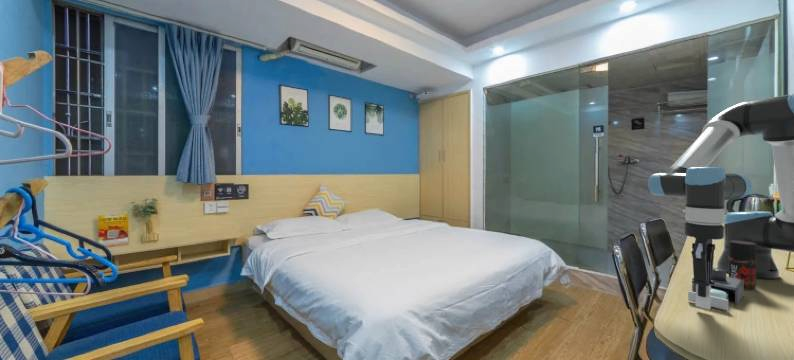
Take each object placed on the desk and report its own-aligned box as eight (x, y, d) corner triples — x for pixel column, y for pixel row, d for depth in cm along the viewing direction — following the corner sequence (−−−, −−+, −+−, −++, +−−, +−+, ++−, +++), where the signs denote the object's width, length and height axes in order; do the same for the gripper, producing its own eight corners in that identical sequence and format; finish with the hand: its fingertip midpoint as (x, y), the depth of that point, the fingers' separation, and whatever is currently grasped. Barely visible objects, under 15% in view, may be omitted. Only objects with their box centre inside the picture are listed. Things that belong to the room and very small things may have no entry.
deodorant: (725, 285, 101) (725, 241, 101) (733, 282, 103) (733, 239, 103) (750, 291, 96) (751, 245, 95) (759, 288, 98) (759, 243, 97)
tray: (697, 291, 95) (697, 282, 95) (734, 300, 89) (735, 290, 89) (688, 300, 89) (688, 291, 89) (727, 310, 82) (727, 300, 82)
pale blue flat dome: (721, 295, 90) (721, 288, 90) (730, 303, 85) (730, 296, 85) (693, 291, 93) (694, 285, 93) (701, 299, 88) (701, 292, 88)
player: (700, 285, 101) (700, 263, 101) (743, 295, 93) (744, 270, 93) (692, 293, 95) (692, 269, 95) (737, 304, 87) (738, 278, 87)
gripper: (691, 218, 89) (690, 296, 90) (678, 223, 81) (678, 308, 82) (728, 221, 83) (727, 305, 83) (718, 227, 75) (717, 319, 76)
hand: (702, 307), depth 83 cm, fingers closed
